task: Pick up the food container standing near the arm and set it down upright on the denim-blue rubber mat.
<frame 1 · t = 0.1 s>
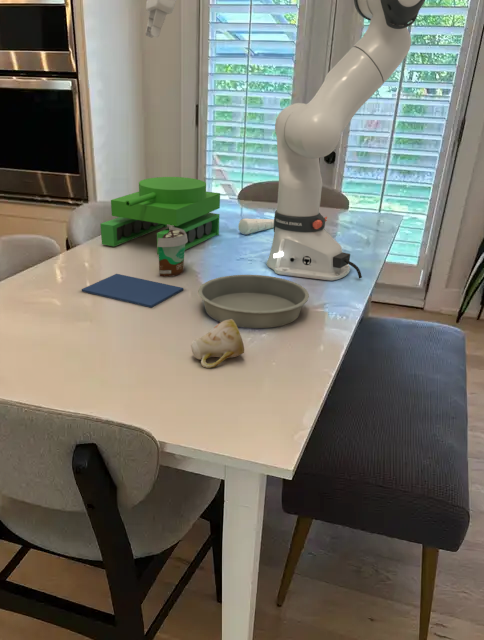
hand: (151, 36, 131), 52 cm above the table, tool tilted 20°, fingers open, 8 cm apart
mat: (132, 290, 145), on the table
mug: (217, 358, 115), on the table
unicorn horn: (264, 229, 198), on the table
cake pan: (252, 311, 136), on the table
tank: (157, 242, 182), on the table
food container: (175, 272, 159), on the table
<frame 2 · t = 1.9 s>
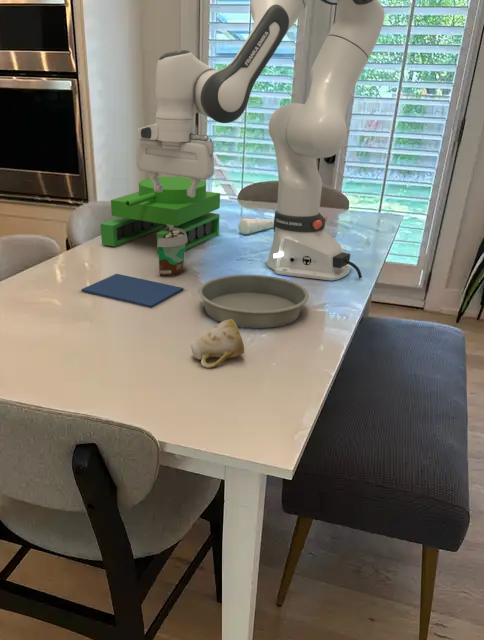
hand: (174, 194, 148), 19 cm above the table, tool pointing down, fingers open, 8 cm apart
nothing on the table moved.
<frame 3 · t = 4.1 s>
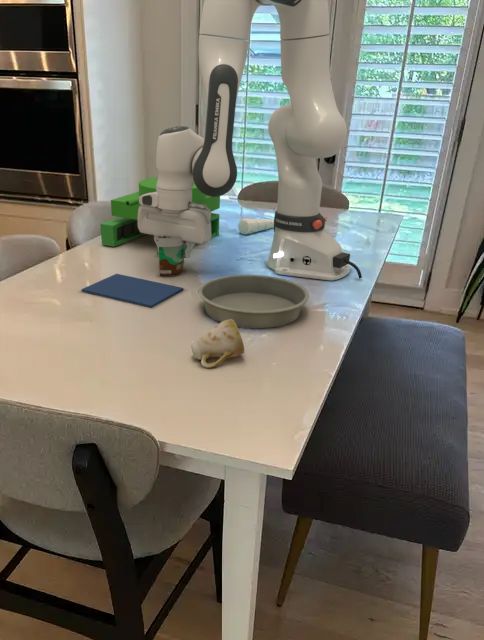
hand: (173, 255, 156), 4 cm above the table, tool pointing down, fingers closed on food container, 6 cm apart
food container: (175, 272, 159), on the table, touching gripper
everything else where it was.
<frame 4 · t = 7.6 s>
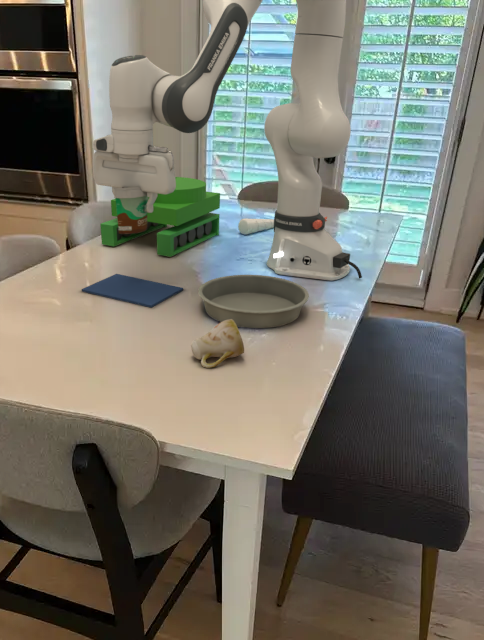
hand: (135, 210, 137), 18 cm above the table, tool pointing down, fingers closed on food container, 6 cm apart
food container: (138, 230, 140), point 14 cm above the table, touching gripper
everything else where it was.
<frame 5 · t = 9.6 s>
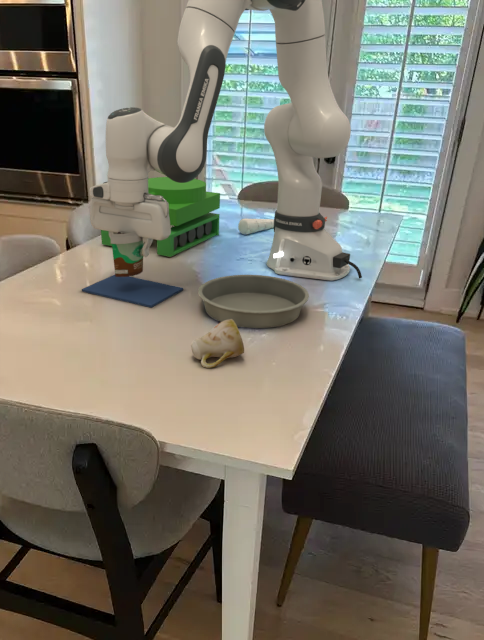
hand: (131, 253, 141), 9 cm above the table, tool pointing down, fingers closed on food container, 6 cm apart
food container: (134, 272, 143), point 5 cm above the table, touching gripper
everything else where it was.
when the fingers open (5 cm above the table, at t = 11.2 s): food container stays where it is, resting on mat.
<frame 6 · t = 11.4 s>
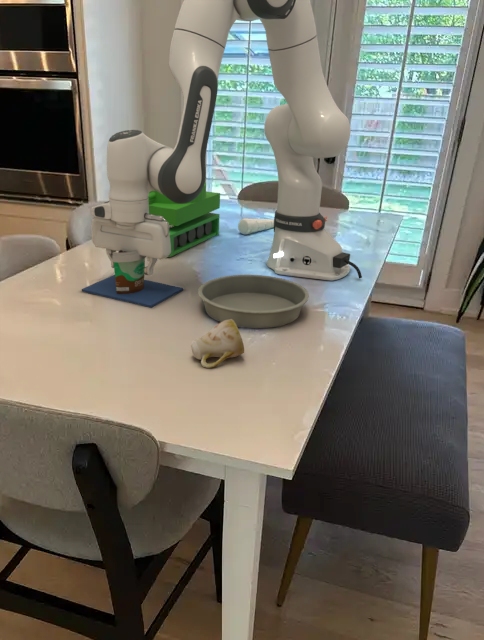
hand: (132, 271, 143), 5 cm above the table, tool pointing down, fingers open, 8 cm apart
food container: (135, 289, 145), resting on mat
everything else where it was.
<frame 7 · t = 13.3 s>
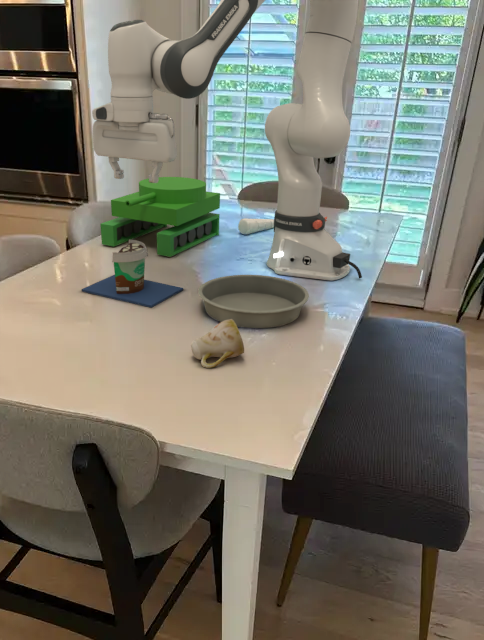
hand: (136, 180, 136), 24 cm above the table, tool pointing down, fingers open, 8 cm apart
nothing on the table moved.
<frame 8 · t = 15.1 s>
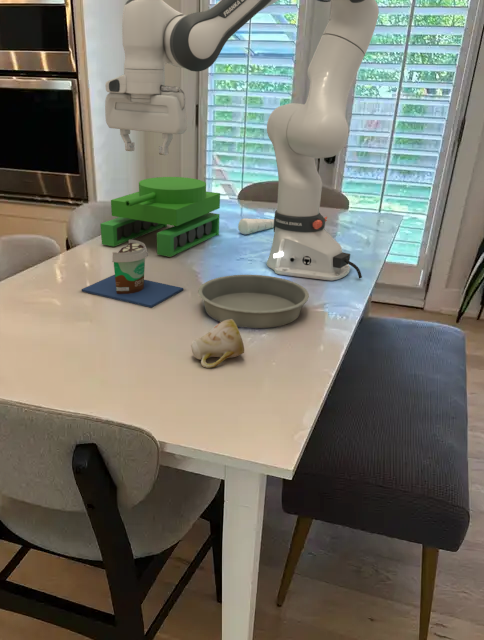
hand: (146, 152, 140), 29 cm above the table, tool pointing down, fingers open, 8 cm apart
nothing on the table moved.
at the end: food container inside the target area on the mat (0.6 cm from its centre), point 0.4 cm above the mat's base; food container tilted 0°; the gripper is holding nothing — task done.
